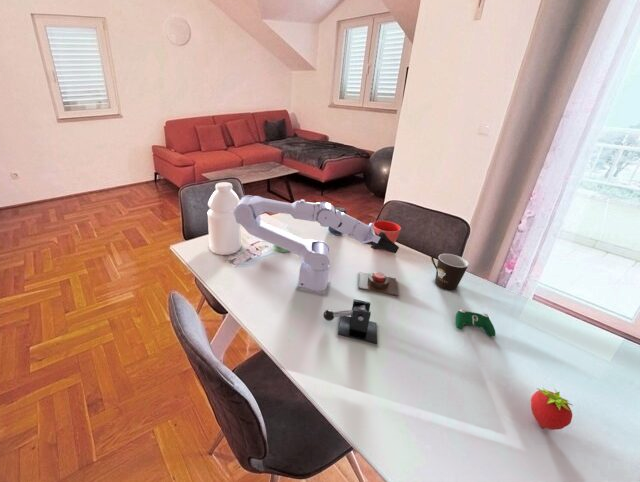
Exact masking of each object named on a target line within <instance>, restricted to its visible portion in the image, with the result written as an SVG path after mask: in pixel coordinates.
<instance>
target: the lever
mask: <svg viewBox="0 0 640 482" xmlns="http://www.w3.org/2000/svg"><path fill="white" fill-rule="evenodd" d="M355 308H356V309H360V310H365V311H367V309H366V307H365V305H360V306H355ZM352 312H353V310H352V309H349V310H341V311H333V310H330V309H327V310H325V311H324V312H323V318H324V319H325V321H328V322H331V321H333V320H334V319H335V318H340V317H341V316H349V317H351V315H352Z"/></svg>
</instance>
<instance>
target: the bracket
mask: <svg viewBox="0 0 640 482" xmlns="http://www.w3.org/2000/svg"><path fill="white" fill-rule="evenodd" d="M360 305H365V307H366V309H367V311H365V310H360V309H356V308H355V306H360ZM370 309H371V301H365V300H360V299H356V298H353V301H352V307H351V310H353V312H352V315H350V316H341V317H339V323H338V330H337V331H338V333H337V336H341V337H345V338H349V339H353V340H357V341H362V342H365V343H370V344H374V345H378V327H377V326H378V325H377V322H376V321H370V320H371V314H372V313H371V312H372V311H370Z"/></svg>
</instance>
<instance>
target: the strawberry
mask: <svg viewBox="0 0 640 482" xmlns="http://www.w3.org/2000/svg"><path fill="white" fill-rule="evenodd" d="M536 390H537V391H535V393H533V394H532V396H531V397H530V409H531V413H532V414H533V418H534V419H535V421H536V422H537V425H538V426H539V428H540V429H544V430H545V429H546V430H554V431H555V430H557V431H558V430H563V429H564V428H566V427H568V426H569V425H571V422H572V419H573V412H572V409H571V407H570V406H573V404H572V403H570V402H569V400H568V399H565V398H563V397H561V392H560V391H557V390H556V389H554V391H555V392H553V391H550V390H547V389H545V388H544V387H543V388H542V389H541V388H538V387H536Z"/></svg>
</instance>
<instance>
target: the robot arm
mask: <svg viewBox="0 0 640 482" xmlns="http://www.w3.org/2000/svg"><path fill="white" fill-rule="evenodd" d="M334 207H335V206H334V205H333V204H332V203H330V202H327V201H322V202H318V201H317V202H309V201H305V199H300V200H296V201H294V202H292V203H291V202H285V201H281V200H276V199H270V198H266V197H262V196H260V195H250V194H247V195H243V196H242V197H241V198H240V202H239V204H238V205H237V206H236V207H235V209H234V217H235V220H236V222H237V223H239V224H241V227H243V229H244V230H245V231H246V232H247V233H248V234H249V235H250V236H253V237H255V238H257V239H261V240H262V241H265V242H267V243H269V244H272V245H273V246H274V245H276V246H279V247H281V248H283V249H286V250H288V251H289V252H290V253H293V254H295V255H297V256H299V258H300V260H302V261H300V262H301V263H300V267H299V271H298V272H299V273H298V283H297V284H298V286H297V287H298V288H301V289H306V290H309V291H312V292H317V293H321V292H324V291H325V290H326V289H327V286H328V283H330V282H329V280H328V279H329V278H328V277H329V271H330V257H329V251H330V248H329V247H330V246H329V245H328V243H326V241H323V240H314V239H312V238H309V239H303V238H302V237H299V236H296V235H294V234H292V233H289V232H288V231H285V230H283V229H280V228H277V227H275V226H273V225H270V224H268V223H266V222H264V221H262V219H261V215H263V214H265V213H275V214H286V215H290V216H291V217H292V218H293V219H294V220H301V221H307V222H314V223H315V222H317V223H318V224H320V226H321V227H323V228H324V227H325V228H327V227H328V228H329V226H330V227H332V228H334V229H335V230H337V231H339V232H341V233H342V234H343V235H345V236H347V237H349V238H351V239H353V240H354V241H357V242H359V244H361V245H369V246H370V248H371V249H373V250H380V249H381V250H380V251H385V252H388V253H392V254H397V253H398V251H399V249H400V247H399V246H398V245H397V244H396V242H395V243H393V242H392V241H391V240H390V239H389V238H388V237H387V236H386V235H385V233H384V232H382V231H381V232H380V234H379V235H377V234H376V233H375V232H374V230H373V226H374V224H373V223H374V222H370V223H368V224H367V223H364V222H362V221H360V220H359V219H356V217H355V218H354V217H353V216H351V215H350V214H349V215H348V214H347V213H346V214H345V213H342V212H340V211H339V210H337V209H334Z"/></svg>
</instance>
